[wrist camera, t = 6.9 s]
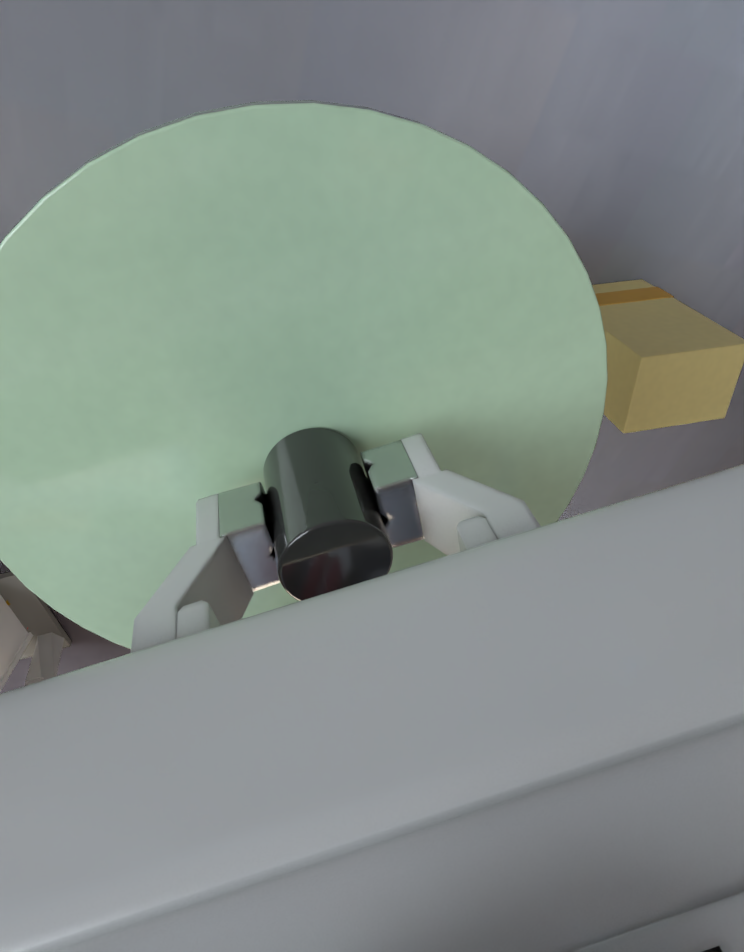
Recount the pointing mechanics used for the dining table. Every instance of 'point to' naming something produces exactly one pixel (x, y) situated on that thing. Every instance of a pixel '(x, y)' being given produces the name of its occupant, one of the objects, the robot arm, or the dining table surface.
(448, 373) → the pot lid
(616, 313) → the butter
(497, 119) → the dining table surface
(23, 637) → the skyscraper
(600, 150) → the dining table surface
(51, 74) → the dining table surface
